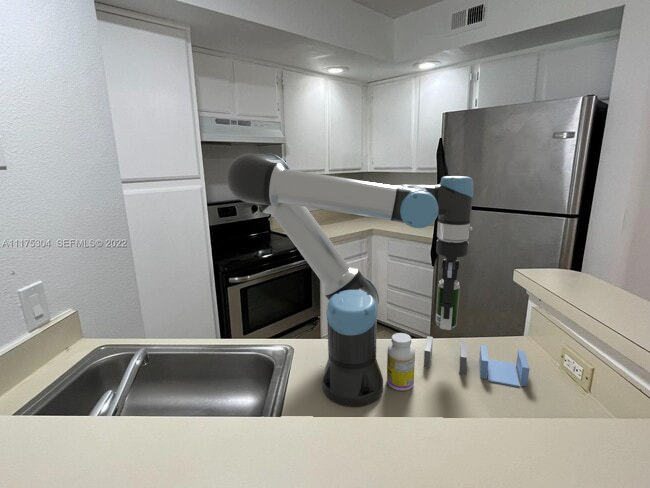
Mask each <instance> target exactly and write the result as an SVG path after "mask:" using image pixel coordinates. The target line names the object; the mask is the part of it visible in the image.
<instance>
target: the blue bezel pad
mask: <svg viewBox="0 0 650 488" xmlns="http://www.w3.org/2000/svg"><path fill="white" fill-rule="evenodd" d="M487 380H488V382H490V383H495V384H500V385H504V386H510V387H515V388H516V387H517V388H520V382H519V378H518V374H517V369H516V365H515V363H514V362H509V361H508V362H507V361H503V360H502V361H501V360H496V359H491V358H490V359H489V358H488V371H487Z"/></svg>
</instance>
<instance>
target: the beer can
mask: <svg viewBox="0 0 650 488" xmlns="http://www.w3.org/2000/svg"><path fill="white" fill-rule="evenodd" d="M443 285H444V279H443V278H442V279H440V280H439V282H438V284H437V297H436V309H435V310H436V311H435V323H436V325H437V326H438V327H439V328H440V320H441V307H442V306H439V303H442V298H443ZM460 290H461V287H460V282H459V280H458V281H457V279H456V280H455V281H454V292H453V311H452V323H451V330H452V329H454V328H455V327H457V325H458V314H459V306H460V305H459V304H460V303H459V302H460Z"/></svg>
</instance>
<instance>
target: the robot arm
mask: <svg viewBox="0 0 650 488" xmlns="http://www.w3.org/2000/svg"><path fill="white" fill-rule="evenodd" d="M226 184H227V186H228V189H229V191H230V192H231V194H232V195H233V196H234V197H236V198H237V199H238V200H240V201H241V202H244V203H248V204H256V205H257V206H258V207H259V209H260V211H261V212H262V213H264V214H268V215H269V214H270V215H272V217H274V219H275V220H276V223H277V224H278V225H279V226H280V228H281V229H282V230H283V232H284V233H285V234H286V236H287V237H288V238H289V239H290V241H291V242H292V243H293V245H294V246H295V247H296V249H297V250H298V252H299V253H300V255H301V256H302V257H303V258H304V260H305V261H306V263H307V264H308V265H309V267H310V268H311V270H312V271H313V272H314V273H315V275H316V276H317V277H318V279H319V280H320V281H321V283H322V285H323V288H324V289H323V295H324V296H325V298H326V299H327V300H328V301H327V306H326V307H327V308H326V312H325V313H326V321H327V323H326V324H327V352H328V358H327V361H326V365H325V368H324V370H323V373H322V378H321V386H322V392H323V394H324V393H325V394H324V395H325V396H326V398H328V399H329V400H330V401H331V402H334V403H335V404H338V405H339V406H344V407H353V408H355V407H362V406H368V405H369V404H372V403H374V402H376V401H377V400H378V399H379V398H380V397H381V396H382V394H383V390H384V379H383V374H382V371H381V369H380V366H379V363H378V359H377V327H378V326H377V325H378V324H377V323H378V311H379V303H380V302H379V301H380V299H379V293H378V290H377V287H376V285H375V284H374V283H373V282H372V280H370V279H369V278H368V277H365V276H363V274H362V272H361V271H360V270H359V268H358V267H351V266H349V264H348V263H347V261H346V260H345V258H344V257H343V255H342V254H341V253H340V252H339V250H338V249H337V248H336V246H335V245H334V243H333V242H332V241H331V240H330V238H329V236H328V235H327V234H326V233H325V231H324V230H323V228H322V227H321V226H320V223H318V221H317V220H316V219H315V217H314V216H313V214H312V213H311V212H310V211H309V209H308V208H313V209H317V210H318V209H319V210H323V211H324V210H326V211H330V212H331V211H332V212H337V213H341V214H350V215H355V216H361V217H368V218H375V219H379V220H380V219H381V220H385V221H386V220H387V221H392V222H396V223H402V224H405V225H407V226H409V227H411V228H413V229H425V228H427V227H429V226H431V225H432V224H434V222H435V221H436V219H437V217H438V219H437V228H436V231H437V232H436V237H437V240H436V245H435V246H436V248H435V249H436V250H435V252H436V254H437V255H439V256H442V257H445V258H444V259H442V262H441V263H442V264H441V269H442V276H441V277H442V279H444V285H443V298H442V303H439V306H442V307H441V320H440V327H439V329H440V330H441V329H442V330H445V331H451V330H452V329H451V323H452V311H453V292H454V281H455V280H456V281H457V279H458V270H459V268H460V260H459V259H458V260H457V258H464V257H466V256H467V255H468V253H469V245H470V243H469V241H468V240H469V238H470V232H471V231H473V227H472V226H471V217H472V208H473V207H472V206H473V199H474V180H473V179H472V177H470V176H461V175H451V176H449V175H446V176H442V177H441V179H440V182H439V184H405V183H404V184H395V185H391V184H386V183H384V184H383V183H378V182H370V181H365V180H358V179H354V178H353V179H352V178H347V177H340V176H333V175H327V174H321V173H315V172H307V171H301V170H295V169H290V167H289V165H288V163H287V162H285V160H284V159H283V158H282V157H279V156H278V155H276V154H273V153H269V152H261V153H243V154H241V155H239V156H237V157H236V158H234V159H233V160H232V161H231V163H230V164H229V165H228V168H227V171H226Z"/></svg>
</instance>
